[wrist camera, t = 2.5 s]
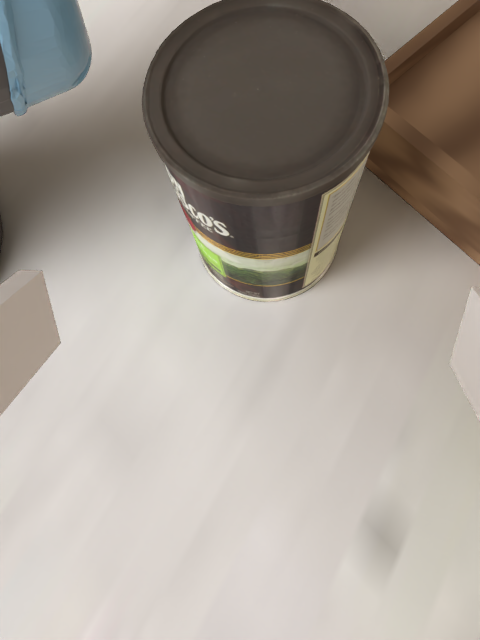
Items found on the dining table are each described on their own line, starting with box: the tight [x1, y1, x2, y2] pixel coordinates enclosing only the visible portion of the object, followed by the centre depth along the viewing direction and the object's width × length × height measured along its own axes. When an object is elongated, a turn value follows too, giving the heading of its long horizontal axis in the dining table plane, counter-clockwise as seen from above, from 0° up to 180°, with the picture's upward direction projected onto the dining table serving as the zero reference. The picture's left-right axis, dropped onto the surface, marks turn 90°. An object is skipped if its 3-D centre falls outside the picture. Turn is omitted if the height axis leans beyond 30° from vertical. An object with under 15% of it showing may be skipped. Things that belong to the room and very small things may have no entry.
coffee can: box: [142, 0, 389, 302], centre depth 25 cm, size 10×10×14 cm
